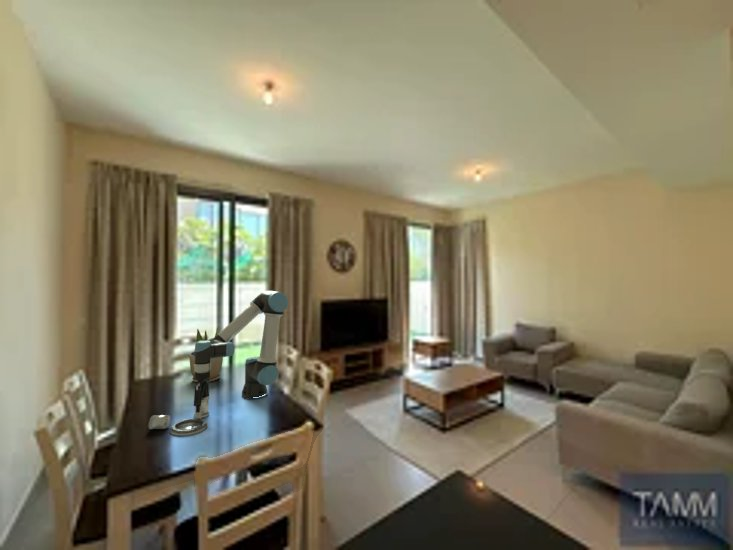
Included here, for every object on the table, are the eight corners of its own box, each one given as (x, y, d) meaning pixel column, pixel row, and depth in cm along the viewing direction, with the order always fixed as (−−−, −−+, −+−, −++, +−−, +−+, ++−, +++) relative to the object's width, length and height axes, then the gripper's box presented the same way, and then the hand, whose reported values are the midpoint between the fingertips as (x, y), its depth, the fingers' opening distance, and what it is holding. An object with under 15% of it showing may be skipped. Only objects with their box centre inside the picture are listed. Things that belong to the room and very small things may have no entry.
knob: (211, 412, 185) (211, 395, 185) (205, 418, 177) (206, 400, 177) (197, 412, 184) (197, 395, 184) (191, 418, 177) (191, 400, 177)
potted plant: (187, 386, 226) (188, 325, 226) (189, 377, 245) (191, 320, 245) (222, 383, 234) (223, 323, 234) (221, 374, 254) (223, 319, 254)
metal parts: (212, 421, 174) (212, 408, 174) (199, 436, 158) (200, 422, 158) (160, 421, 172) (160, 409, 172) (142, 436, 156) (142, 423, 156)
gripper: (202, 365, 190) (201, 407, 190) (186, 376, 170) (185, 423, 170) (216, 365, 191) (215, 407, 191) (202, 376, 171) (201, 423, 171)
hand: (201, 414), depth 181 cm, fingers closed on knob, 7 cm apart
